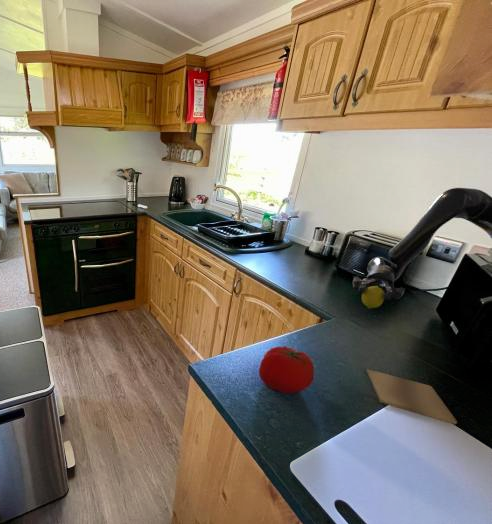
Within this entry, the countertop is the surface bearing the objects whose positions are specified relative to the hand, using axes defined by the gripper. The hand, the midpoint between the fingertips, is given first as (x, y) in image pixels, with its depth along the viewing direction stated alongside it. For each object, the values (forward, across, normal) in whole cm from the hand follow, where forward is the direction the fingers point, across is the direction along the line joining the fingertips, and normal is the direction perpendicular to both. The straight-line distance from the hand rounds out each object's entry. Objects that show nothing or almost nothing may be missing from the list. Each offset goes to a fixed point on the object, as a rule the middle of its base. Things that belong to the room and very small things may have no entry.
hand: (374, 294), depth 90 cm
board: (+22, +13, +16) cm, 30 cm away
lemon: (-3, 0, +6) cm, 7 cm away
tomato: (+42, -11, +16) cm, 46 cm away
